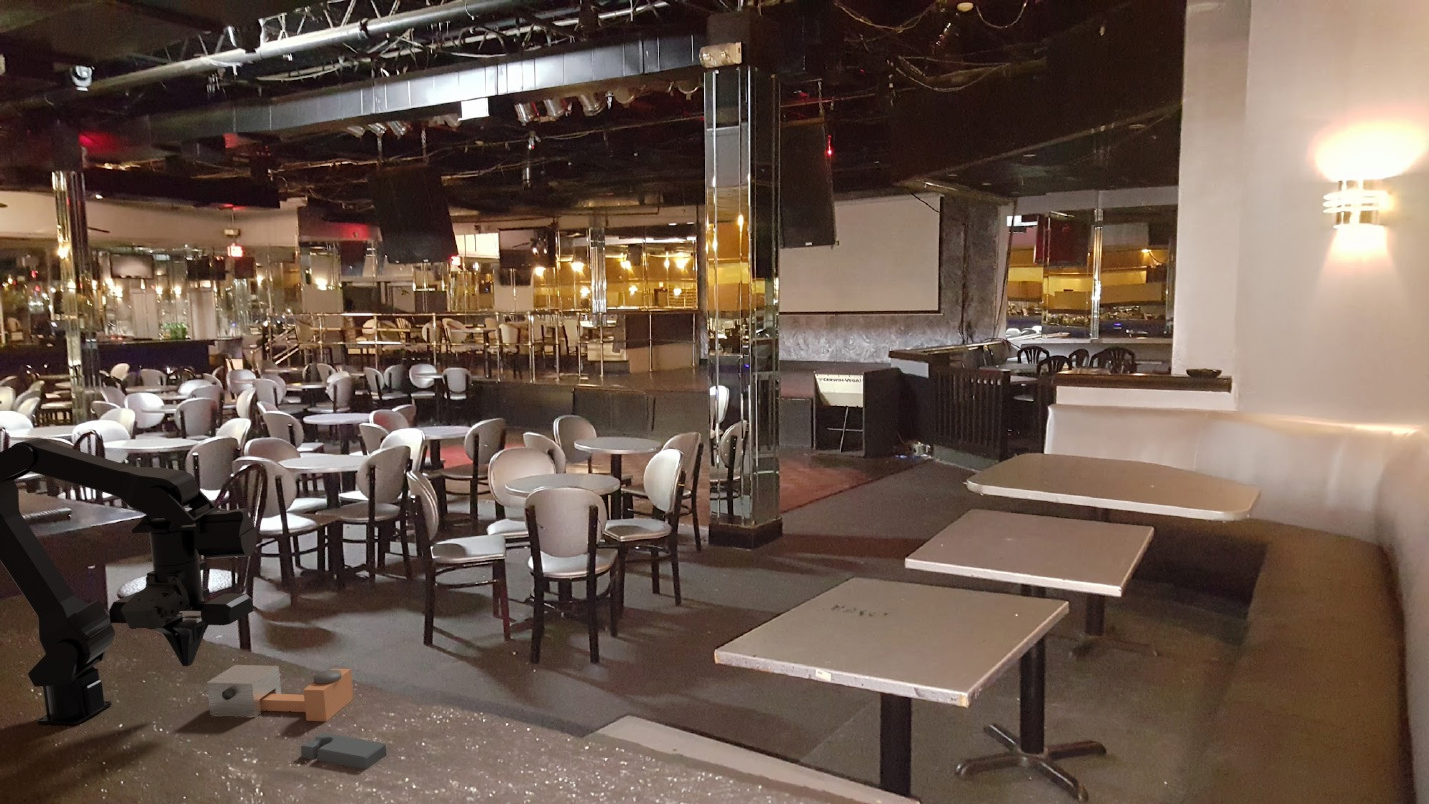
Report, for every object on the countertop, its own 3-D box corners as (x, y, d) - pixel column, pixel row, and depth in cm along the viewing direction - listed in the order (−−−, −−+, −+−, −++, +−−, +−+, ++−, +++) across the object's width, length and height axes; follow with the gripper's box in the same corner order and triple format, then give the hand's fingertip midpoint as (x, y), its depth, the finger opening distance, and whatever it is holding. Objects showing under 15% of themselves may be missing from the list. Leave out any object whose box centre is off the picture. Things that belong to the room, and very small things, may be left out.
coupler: (240, 718, 127) (236, 683, 126) (271, 696, 134) (268, 663, 133) (328, 721, 125) (325, 686, 124) (355, 698, 132) (352, 665, 131)
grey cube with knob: (206, 719, 127) (202, 685, 127) (238, 697, 134) (234, 664, 133) (252, 720, 126) (248, 686, 126) (281, 698, 133) (278, 666, 132)
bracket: (366, 773, 112) (364, 757, 111) (300, 760, 115) (299, 745, 115) (388, 757, 115) (386, 742, 115) (323, 746, 119) (322, 731, 119)
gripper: (70, 577, 122) (84, 687, 124) (195, 579, 120) (207, 691, 122) (134, 553, 133) (145, 655, 135) (250, 554, 131) (260, 658, 133)
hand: (187, 665), depth 131 cm, fingers closed
